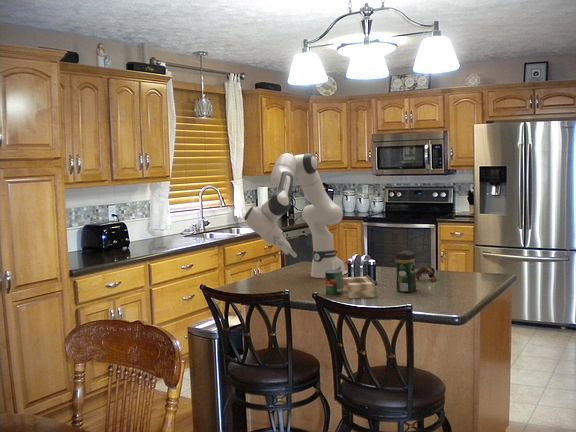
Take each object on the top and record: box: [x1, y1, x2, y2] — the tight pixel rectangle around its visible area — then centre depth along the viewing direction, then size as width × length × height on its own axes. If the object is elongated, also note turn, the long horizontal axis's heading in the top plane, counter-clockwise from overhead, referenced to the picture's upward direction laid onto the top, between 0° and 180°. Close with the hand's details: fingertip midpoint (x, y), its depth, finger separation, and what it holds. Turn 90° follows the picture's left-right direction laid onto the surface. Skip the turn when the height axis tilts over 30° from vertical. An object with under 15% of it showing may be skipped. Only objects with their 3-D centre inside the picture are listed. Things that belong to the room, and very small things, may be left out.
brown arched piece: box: [415, 266, 437, 283], centre depth 309 cm, size 12×10×8 cm
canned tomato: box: [324, 270, 344, 298], centre depth 283 cm, size 8×8×11 cm
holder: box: [342, 274, 376, 299], centre depth 283 cm, size 12×19×7 cm, turn 3°
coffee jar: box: [394, 250, 417, 293], centre depth 285 cm, size 10×8×19 cm
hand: (296, 256), depth 281 cm, fingers closed
